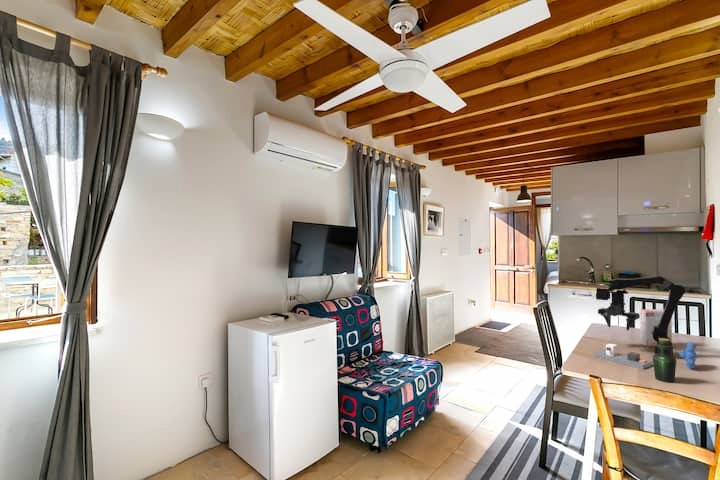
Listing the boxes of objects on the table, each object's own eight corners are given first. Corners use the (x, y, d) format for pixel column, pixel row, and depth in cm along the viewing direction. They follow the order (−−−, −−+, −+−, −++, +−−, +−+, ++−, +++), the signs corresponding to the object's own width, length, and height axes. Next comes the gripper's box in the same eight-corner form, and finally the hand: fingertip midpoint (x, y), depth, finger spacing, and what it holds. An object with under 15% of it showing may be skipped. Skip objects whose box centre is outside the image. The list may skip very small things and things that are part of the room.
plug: (617, 358, 188) (617, 345, 188) (611, 360, 185) (611, 347, 185) (610, 356, 191) (610, 343, 191) (603, 358, 188) (603, 345, 188)
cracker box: (665, 344, 211) (664, 308, 211) (672, 347, 205) (672, 310, 205) (639, 344, 212) (639, 308, 212) (646, 347, 206) (646, 310, 206)
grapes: (680, 362, 180) (679, 338, 180) (698, 365, 175) (698, 341, 175) (678, 368, 172) (677, 343, 172) (697, 372, 167) (697, 346, 167)
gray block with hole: (652, 365, 177) (652, 355, 177) (643, 369, 172) (642, 358, 172) (604, 353, 196) (604, 344, 196) (594, 356, 191) (594, 347, 191)
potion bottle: (665, 376, 163) (664, 336, 163) (682, 383, 155) (681, 341, 155) (648, 376, 163) (647, 337, 163) (663, 383, 155) (663, 342, 155)
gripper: (592, 300, 206) (592, 327, 206) (629, 305, 189) (630, 334, 189) (602, 298, 211) (603, 324, 211) (639, 302, 195) (640, 331, 195)
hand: (618, 328), depth 202 cm, fingers open, 9 cm apart
